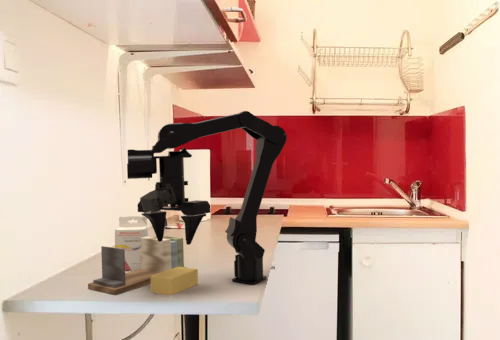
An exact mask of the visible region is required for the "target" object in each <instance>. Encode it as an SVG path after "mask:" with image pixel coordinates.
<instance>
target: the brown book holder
mask: <svg viewBox="0 0 500 340" xmlns="http://www.w3.org/2000/svg"><path fill="white" fill-rule="evenodd" d="M140 252H141V269H138V270H135V271H129V272H128V271H127V272H126V271H125V249H119V248H115V247H110V246H103V245H102V246H101V276H102V277H100V278H96V279H93V280H92V282H90V283H88V284H87V289H88V290H93V291H97V292H99V293H100V292H102V293H105V294H108V295H114V296H117V295H120V294H123V293H126V292H129V291H132V290H135V289H138V288H141V287H145V286H147V285H151V277H150V276H152V275H155V274H158V273H161V272H164V271H167V270H170V269H173V268H176V267H186V266H185V259H184V258H185V257H184V255H185V254H184V238H183V237H176V236H168V235H163V240H162V241H160V242H159V241H158V239H157V237H156V236H148V237H142V238H140ZM186 268H188V267H186Z"/></svg>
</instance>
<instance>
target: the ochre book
mask: <svg viewBox="0 0 500 340" xmlns="http://www.w3.org/2000/svg"><path fill="white" fill-rule="evenodd" d="M198 271H199V269H198V268H193V267H192V268H191V267H187V268H186V266H184V267H176V268H173V269H170V270H167V271H164V272H161V273H158V274H155V275H152V276H150V277H151V283H150V292H151V293H156V294H159V295H160V294H161V295H164V296H165V295H167V296H172V295H175V294H177V293H179V292H180V293H181V292H183V291H185V290H188V289H190V288H192V287H194V286H197V285H199V275H198V274H199V273H198Z"/></svg>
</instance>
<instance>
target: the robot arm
mask: <svg viewBox="0 0 500 340" xmlns="http://www.w3.org/2000/svg"><path fill="white" fill-rule="evenodd" d="M238 129H241V130H243V131H244V132H245V133H247V135H248V136H250V137H251V138H253V139H254V140H256V145H255V154H256V155H255V163H254V166H253V169H252V172H251V174H250V178H249V182H248V185H247V188H246V191H245V193H244V194H245V195H244V197H243V201H242V204H241V208H240V210H239V213H238V214H237V215H236V217H235V218H234V217H232V216H230V217H229V221H228V226H227V227H226V229H225V230H224V232H225V233H226V240H227V242H228V244H229V246H231V248H233V249H234V251H235V253H236V254H235V257H234V258H235V259H234V261H233V263H234V265H233V269H234V271H233V272H234V278H232V279H231V281H232V282H236V283H241V284H249V285H256V284H257V283H259V282H261V281H264V280H266V279H267V278H268V277H267V275H264V263H263V262H264V254H265V252H266V251H265V248H264V247H262V245H260V244H259V243H258V242H257V241H256V240H257V239H256V238H257V232H258V227H257V224H258V223H257V218H258V214H259V210H260V207H261V205H262V201H263V199H264V194H265V192H266V187H267V185H268V181H269V178H270V175H271V171H272V167H273V165H274V163H275V162H276V160H277V158H278V157H279V156H280V154H281V153H282V150H284V149H283V148H285V145H286V143H287V138H288V135H287V132H286V131H285V129H284V128H283V127H281V126H280V125H273V124H271V123H270V122H268V121H266V120H264V119H262V118H260V117H258V116H256V115H254V114H253V113H251V112H250V111H248V110H243V111H240V112H238V113H233V114H229V115H225V116H220V117H216V118H212V119H207V120H202V121H198V122H177V123H176V122H175V123H167V124H165V125H164V126H162V127H161V128H160V130H159V131H158V134H157V141H156V143H155V144H154V145H153V146H151V149H140V150H139V149H138V150H137V149H128V150H127V163H126V171H127V172H126V173H127V174H126V175H127V176H126V177H127V180H130V179H135V180H137V179H153V175H155V174H158V169H159V181H157V182H155V187H154V190H151V191H149V192H148V193H145V194H144V195H142V196H141V197H139V202H138V203H137V213H141V216H145V217H146V218H147V220H149V222H150V224H151V226H152V229H153V231H154V234H155V237H157V239H158V241H159V242H160V241H162V240H163V236H165V228H166V227H165V224H166V218H167V211H174V212H175V211H178V212H181V213H182V214H183V215H180V218H181V219H182V221H183V222H184V230H185V231H184V234H185V236H184V237H185V243H186V245H187V246H189V245H191V244H192V242H193V239H194V237H195V235H196V232H197V230H198V228H199V226H200V224H201V222H202V220H203V219H204V218H205V217H206V216H207V214H209V213H210V214H211V204H210V202H208V200H196V199H195V200H190V201H189V197H185V195H186V194H185V186H189V181H188V180H185V166H184V163H185V161H184V159H186V158H192V157H193V155H192V154H191V152H189V151H188V150H187V149H186V148H185V147H183V148H182V149H181V150H173V151H171V150H172V149H176V148H178V147H181V146H183V145H186V144H188V143H190V142H193V141H195V140H196V139H200V138H204V137H208V136H212V135H216V134H220V133H224V132H228V131H232V130H233V131H234V130H238ZM167 149H168V150H170V151H168V154H167V155H156V156H155V154H160V153H163V152H164V151H166V150H167ZM157 160H158V164H157ZM158 165H159V168H157V167H158Z"/></svg>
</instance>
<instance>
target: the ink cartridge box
mask: <svg viewBox="0 0 500 340" xmlns="http://www.w3.org/2000/svg"><path fill="white" fill-rule="evenodd" d="M118 217H119V218H118V222H119V225H118V226H119V227H117V228H115V229H114V248H119V249H125V272H126V271H127V272H128V271H129V272H131V271H135V270H138V269H141V252H140V238H142V237H149V227H148V218H146V217H145V216H142V215H141V216H140V215H139V216H138V215H137V216H135V215H134V216H133V215H132V216H130V215H129V216H128V215H127V216H118ZM129 221H133V222H129ZM135 221H137V222H135Z"/></svg>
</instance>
